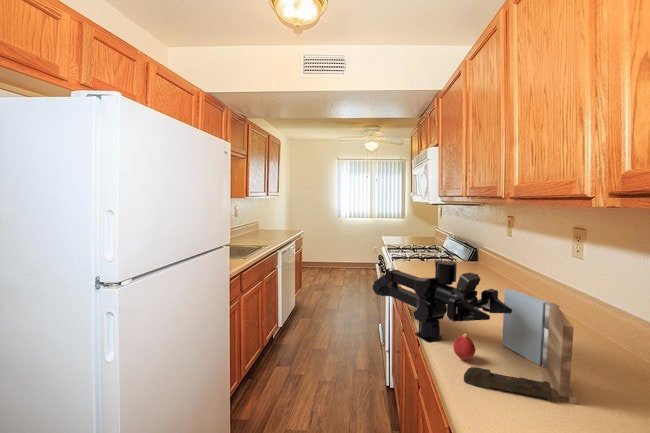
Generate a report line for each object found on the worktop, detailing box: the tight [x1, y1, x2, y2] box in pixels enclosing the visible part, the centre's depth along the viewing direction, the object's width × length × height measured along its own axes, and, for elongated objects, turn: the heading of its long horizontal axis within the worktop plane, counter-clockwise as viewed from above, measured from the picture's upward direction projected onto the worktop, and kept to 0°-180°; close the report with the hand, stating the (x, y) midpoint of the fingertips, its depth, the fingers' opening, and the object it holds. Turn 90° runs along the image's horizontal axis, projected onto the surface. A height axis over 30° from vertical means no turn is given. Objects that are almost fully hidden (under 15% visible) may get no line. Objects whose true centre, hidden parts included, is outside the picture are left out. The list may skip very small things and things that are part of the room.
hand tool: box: [463, 366, 552, 402], centre depth 83 cm, size 19×4×5 cm, turn 67°
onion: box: [453, 333, 476, 361], centre depth 96 cm, size 6×6×8 cm
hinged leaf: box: [501, 288, 550, 366], centre depth 97 cm, size 3×16×18 cm, turn 17°
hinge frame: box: [539, 302, 578, 406], centre depth 84 cm, size 5×16×18 cm, turn 157°
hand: (500, 314), depth 88 cm, fingers open, 9 cm apart
